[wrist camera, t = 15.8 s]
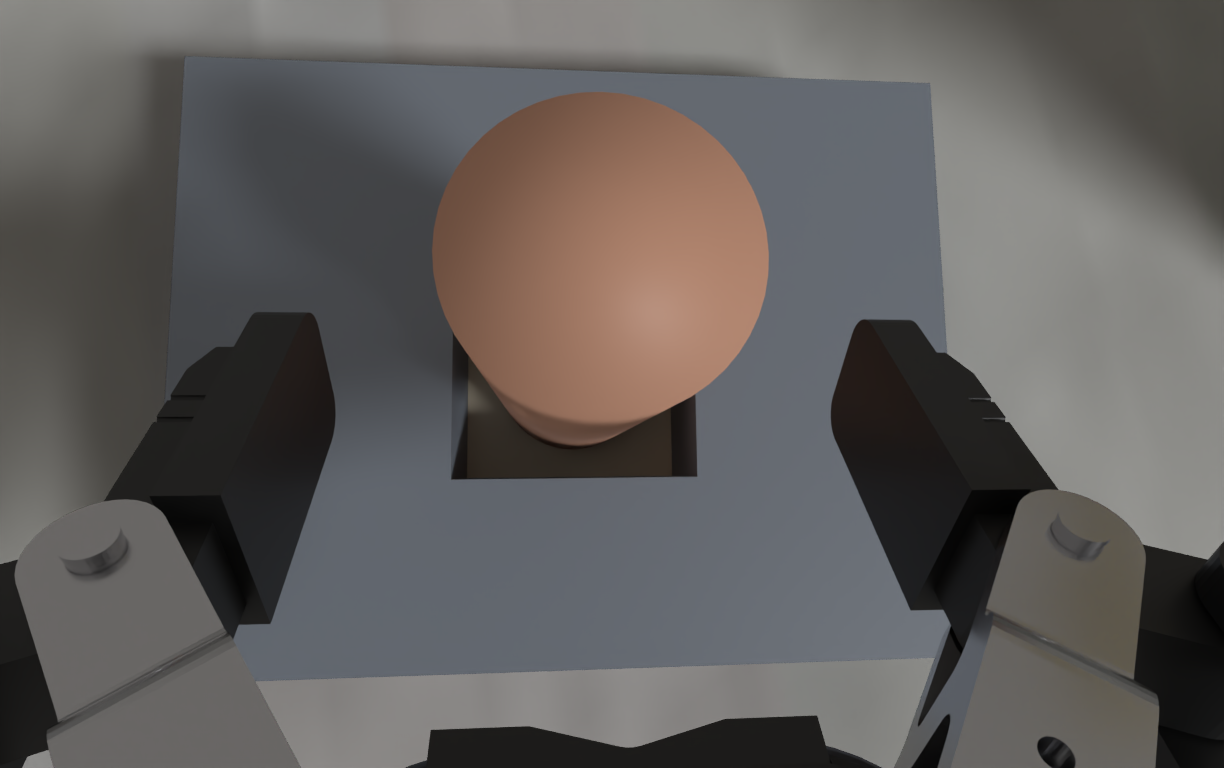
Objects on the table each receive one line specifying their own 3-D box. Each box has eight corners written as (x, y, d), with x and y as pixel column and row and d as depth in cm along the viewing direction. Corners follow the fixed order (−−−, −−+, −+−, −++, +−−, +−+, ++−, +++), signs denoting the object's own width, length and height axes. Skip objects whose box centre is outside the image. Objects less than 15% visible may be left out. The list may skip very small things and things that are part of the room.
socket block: (863, 150, 23) (930, 83, 19) (887, 622, 21) (966, 656, 17) (252, 133, 21) (184, 56, 17) (228, 641, 20) (148, 685, 16)
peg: (642, 306, 21) (763, 95, 9) (645, 448, 21) (775, 418, 9) (500, 306, 21) (433, 87, 9) (500, 450, 20) (429, 422, 8)
